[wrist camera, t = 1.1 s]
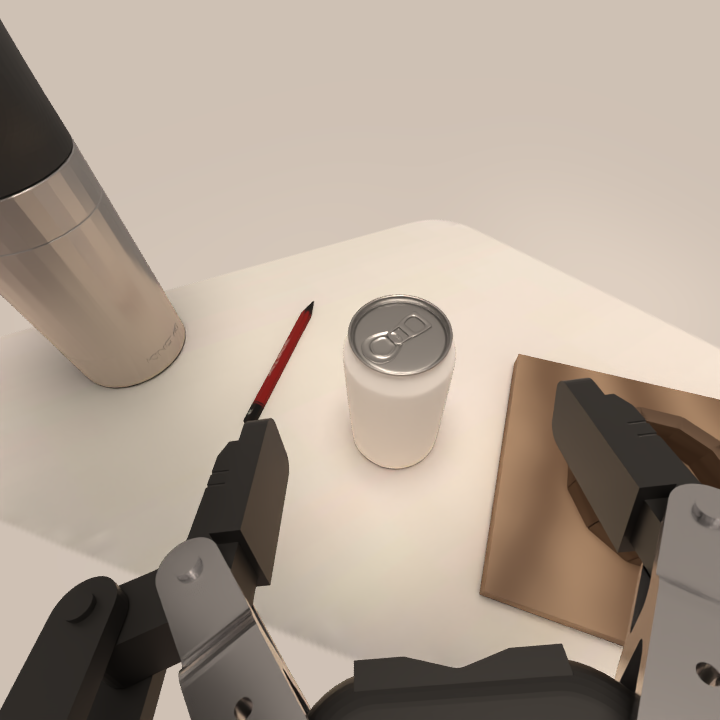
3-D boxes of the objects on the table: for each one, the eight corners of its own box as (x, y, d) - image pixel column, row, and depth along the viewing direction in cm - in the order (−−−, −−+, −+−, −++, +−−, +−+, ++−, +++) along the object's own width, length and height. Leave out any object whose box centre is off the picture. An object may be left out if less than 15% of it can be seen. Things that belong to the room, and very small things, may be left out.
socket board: (479, 594, 25) (494, 585, 22) (514, 364, 35) (527, 334, 32) (831, 721, 21) (913, 733, 18) (759, 421, 31) (803, 394, 28)
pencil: (318, 304, 40) (317, 297, 40) (255, 427, 33) (252, 422, 32) (310, 303, 40) (308, 295, 40) (245, 425, 33) (242, 419, 32)
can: (335, 426, 32) (316, 327, 22) (396, 381, 34) (403, 272, 25) (390, 489, 29) (395, 406, 19) (454, 435, 31) (486, 336, 22)
